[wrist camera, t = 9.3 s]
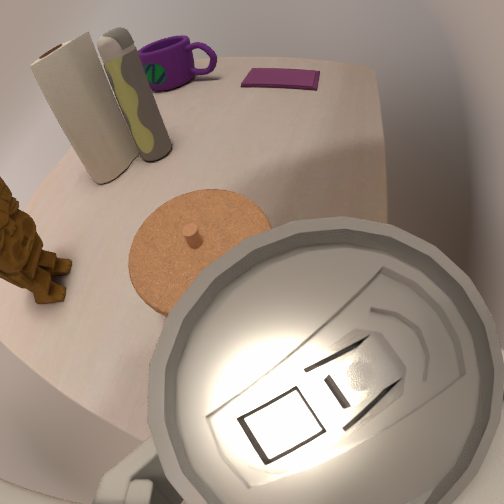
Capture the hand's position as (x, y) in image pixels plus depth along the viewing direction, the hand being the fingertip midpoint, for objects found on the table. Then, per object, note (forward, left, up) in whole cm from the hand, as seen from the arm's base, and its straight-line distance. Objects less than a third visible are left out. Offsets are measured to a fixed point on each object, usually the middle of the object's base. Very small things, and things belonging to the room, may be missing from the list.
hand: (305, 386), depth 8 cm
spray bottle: (+25, -27, -15) cm, 40 cm away
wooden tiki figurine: (+30, -4, -15) cm, 34 cm away
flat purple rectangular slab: (+11, -52, -15) cm, 56 cm away
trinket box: (+9, -9, -15) cm, 19 cm away
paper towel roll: (+31, -23, -15) cm, 42 cm away
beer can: (0, +1, -7) cm, 7 cm away
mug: (+32, -52, -15) cm, 63 cm away
